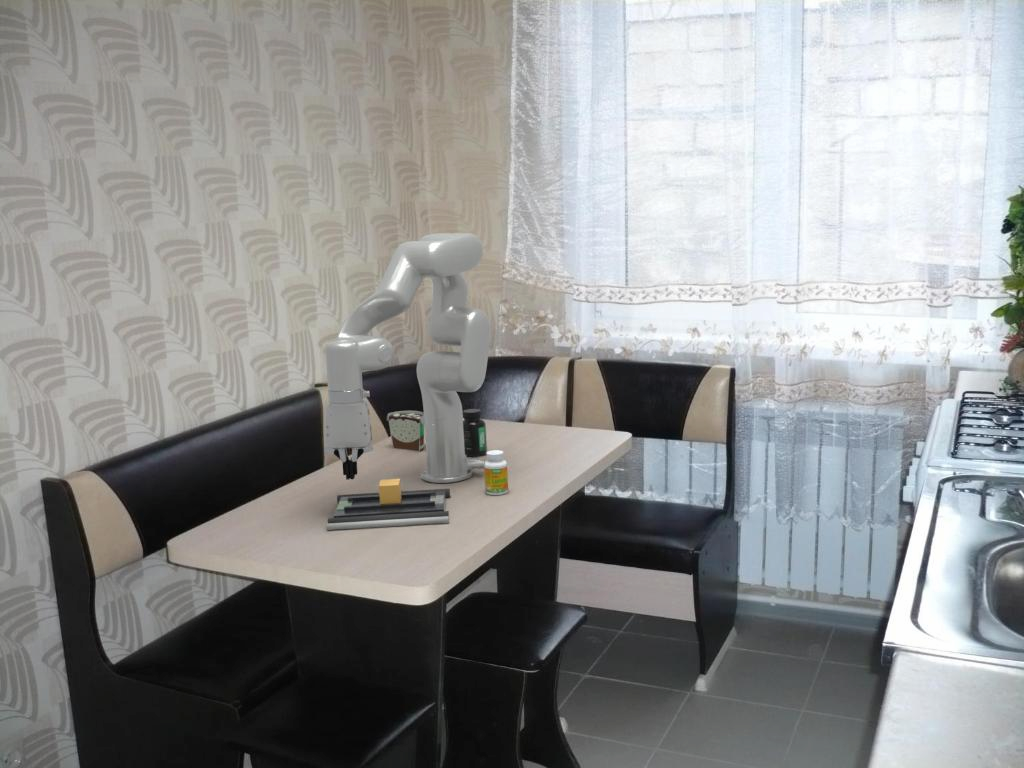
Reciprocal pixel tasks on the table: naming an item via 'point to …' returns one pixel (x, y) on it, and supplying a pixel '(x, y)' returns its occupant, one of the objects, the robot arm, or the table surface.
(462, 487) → the table surface
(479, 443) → the supplement bottle
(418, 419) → the food container
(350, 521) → the pair of dark bars
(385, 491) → the toggle
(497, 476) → the supplement bottle
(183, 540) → the table surface
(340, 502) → the railed metal tray
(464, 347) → the robot arm
